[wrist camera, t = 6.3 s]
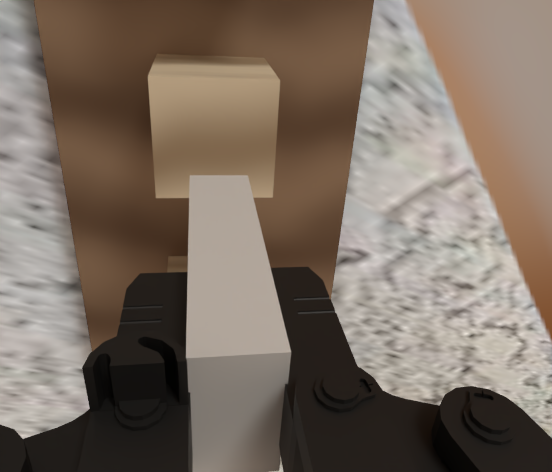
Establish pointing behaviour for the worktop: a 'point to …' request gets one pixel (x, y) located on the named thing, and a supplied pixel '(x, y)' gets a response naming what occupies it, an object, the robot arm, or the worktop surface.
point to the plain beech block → (212, 121)
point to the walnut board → (138, 137)
